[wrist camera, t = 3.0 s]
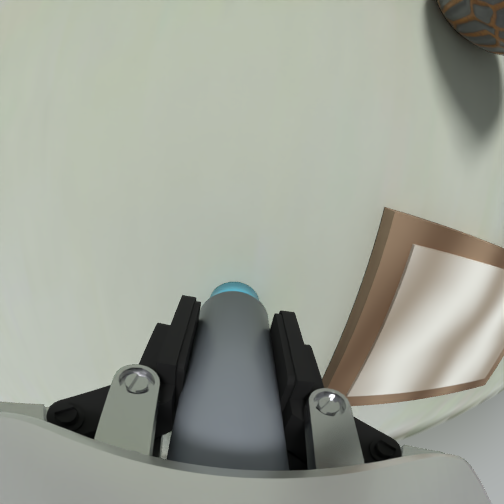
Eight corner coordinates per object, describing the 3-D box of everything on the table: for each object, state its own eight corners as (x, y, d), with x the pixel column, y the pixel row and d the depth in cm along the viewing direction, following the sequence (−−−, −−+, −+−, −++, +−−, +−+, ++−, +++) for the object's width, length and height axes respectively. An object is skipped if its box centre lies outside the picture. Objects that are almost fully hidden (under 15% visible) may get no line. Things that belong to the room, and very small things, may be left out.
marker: (271, 281, 13) (329, 582, 2) (258, 333, 14) (280, 585, 3) (206, 270, 13) (137, 578, 1) (200, 324, 14) (155, 577, 2)
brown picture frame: (536, 262, 13) (545, 267, 12) (479, 378, 17) (485, 386, 16) (384, 207, 12) (397, 212, 11) (314, 395, 16) (317, 409, 15)
